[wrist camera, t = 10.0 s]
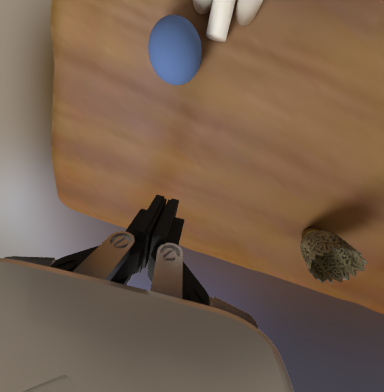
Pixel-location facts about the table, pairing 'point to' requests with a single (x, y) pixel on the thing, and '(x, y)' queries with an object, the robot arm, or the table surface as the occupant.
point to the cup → (329, 255)
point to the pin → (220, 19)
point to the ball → (175, 49)
